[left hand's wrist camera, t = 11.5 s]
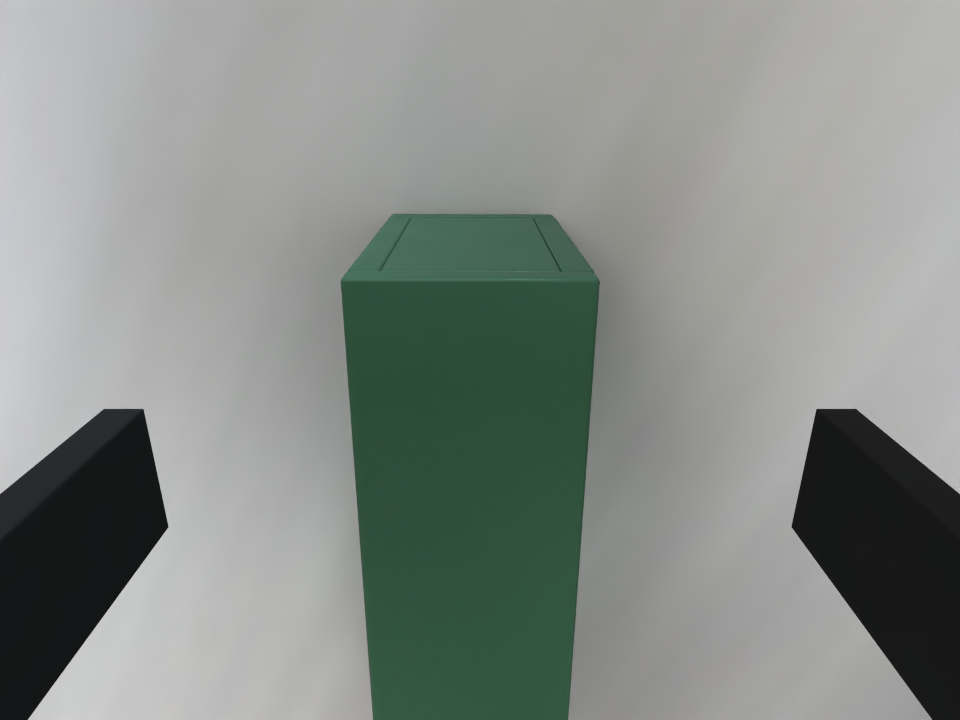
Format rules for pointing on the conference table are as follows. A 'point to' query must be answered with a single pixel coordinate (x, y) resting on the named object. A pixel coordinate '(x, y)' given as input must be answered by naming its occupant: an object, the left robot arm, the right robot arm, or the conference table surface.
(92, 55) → the conference table surface
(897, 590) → the left robot arm
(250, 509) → the conference table surface
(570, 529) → the cabinet
